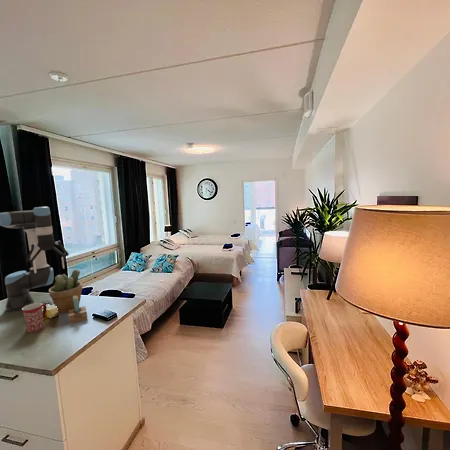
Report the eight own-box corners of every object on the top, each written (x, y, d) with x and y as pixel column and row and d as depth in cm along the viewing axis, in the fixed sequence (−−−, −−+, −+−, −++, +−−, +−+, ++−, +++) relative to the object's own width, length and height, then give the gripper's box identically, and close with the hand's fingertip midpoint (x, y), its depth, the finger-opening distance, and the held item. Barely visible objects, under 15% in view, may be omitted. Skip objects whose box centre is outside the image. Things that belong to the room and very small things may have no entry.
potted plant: (66, 317, 155) (61, 278, 152) (44, 314, 161) (38, 276, 158) (90, 304, 172) (86, 268, 169) (70, 302, 178) (65, 267, 175)
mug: (35, 334, 138) (31, 310, 136) (21, 333, 140) (17, 309, 138) (54, 322, 150) (51, 300, 148) (41, 321, 152) (38, 299, 150)
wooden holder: (69, 318, 154) (68, 310, 154) (86, 313, 159) (85, 306, 158) (69, 324, 147) (68, 316, 146) (87, 319, 151) (86, 311, 151)
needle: (76, 318, 153) (72, 296, 152) (80, 317, 155) (77, 295, 153) (75, 320, 151) (72, 297, 150) (80, 319, 152) (77, 296, 151)
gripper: (16, 237, 136) (21, 276, 139) (70, 232, 149) (74, 267, 152) (18, 236, 142) (23, 273, 145) (70, 230, 155) (74, 264, 158)
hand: (49, 270), depth 148 cm, fingers open, 13 cm apart
